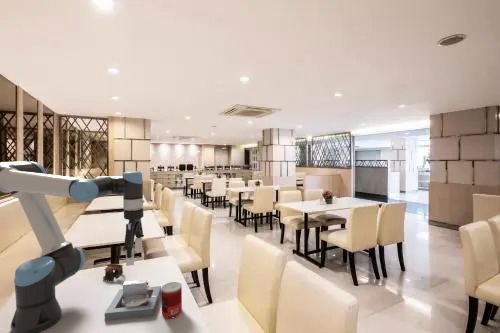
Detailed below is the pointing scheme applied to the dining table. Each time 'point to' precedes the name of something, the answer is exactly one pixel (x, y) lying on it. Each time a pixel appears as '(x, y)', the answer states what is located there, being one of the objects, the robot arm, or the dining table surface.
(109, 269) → the pottery mug
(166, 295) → the canned food
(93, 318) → the dining table surface
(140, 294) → the dial
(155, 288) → the grey square tray
